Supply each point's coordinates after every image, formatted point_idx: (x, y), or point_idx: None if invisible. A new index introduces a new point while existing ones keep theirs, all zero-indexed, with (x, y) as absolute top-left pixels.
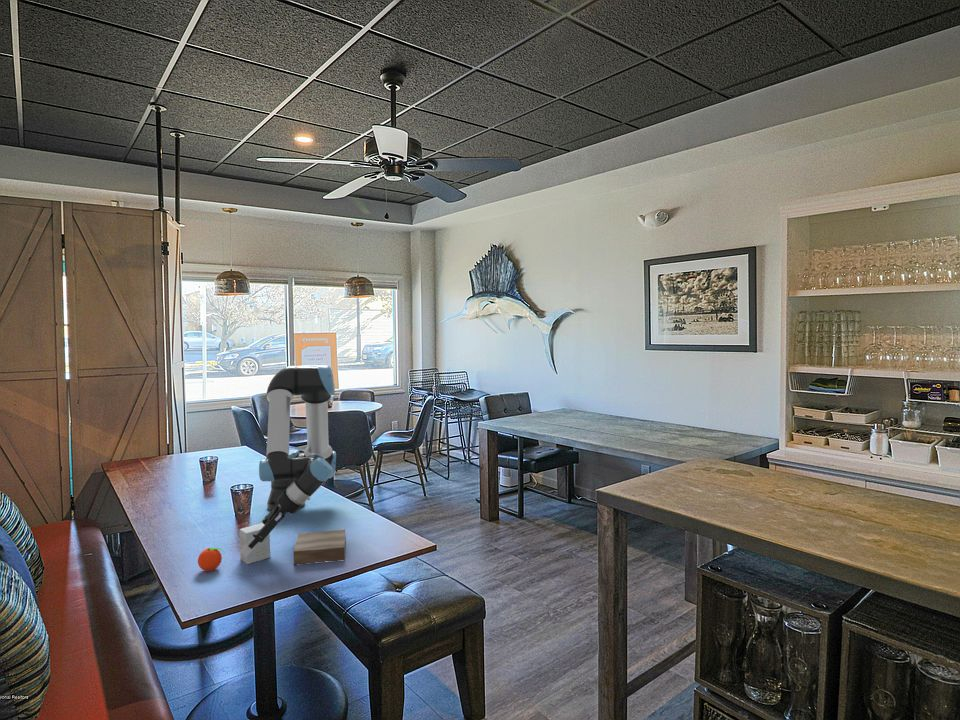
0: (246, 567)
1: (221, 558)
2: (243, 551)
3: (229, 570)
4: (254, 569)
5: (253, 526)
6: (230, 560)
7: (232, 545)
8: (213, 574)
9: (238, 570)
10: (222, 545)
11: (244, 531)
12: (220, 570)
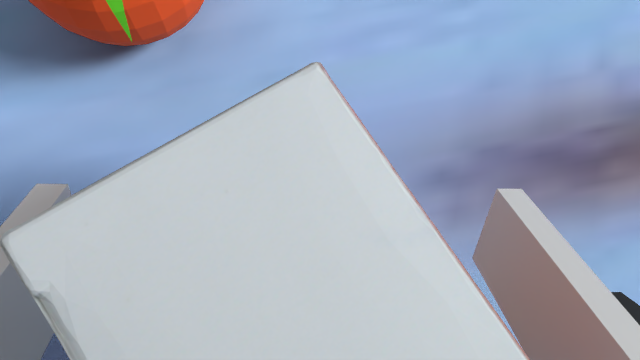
0: None
1: (102, 30)
2: None
3: (87, 138)
4: None
5: (406, 323)
6: None
7: (578, 76)
8: (47, 36)
9: None
10: (583, 10)
11: (139, 180)
12: (110, 72)
